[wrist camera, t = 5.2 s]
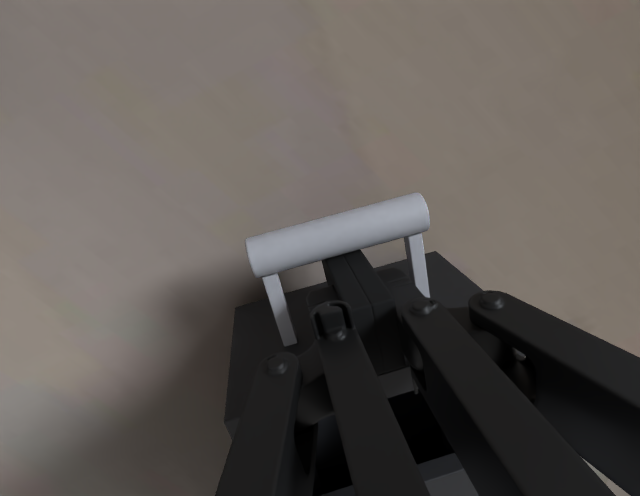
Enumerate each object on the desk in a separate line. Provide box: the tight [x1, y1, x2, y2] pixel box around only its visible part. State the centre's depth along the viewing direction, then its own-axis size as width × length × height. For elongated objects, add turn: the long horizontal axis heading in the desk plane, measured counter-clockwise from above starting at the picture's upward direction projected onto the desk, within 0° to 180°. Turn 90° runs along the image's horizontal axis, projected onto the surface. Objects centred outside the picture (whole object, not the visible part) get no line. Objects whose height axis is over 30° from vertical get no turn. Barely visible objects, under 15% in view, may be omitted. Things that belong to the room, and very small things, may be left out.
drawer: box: [224, 192, 525, 496], centre depth 19 cm, size 20×11×8 cm, turn 13°
